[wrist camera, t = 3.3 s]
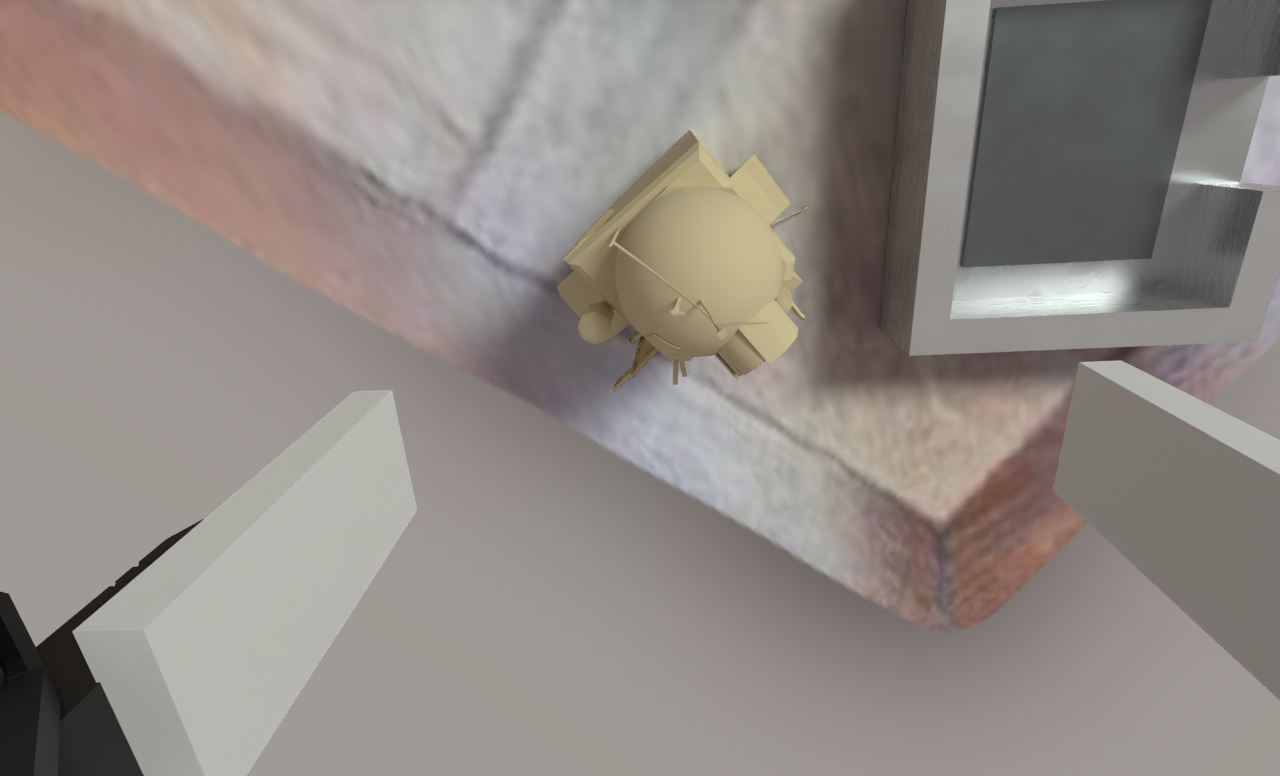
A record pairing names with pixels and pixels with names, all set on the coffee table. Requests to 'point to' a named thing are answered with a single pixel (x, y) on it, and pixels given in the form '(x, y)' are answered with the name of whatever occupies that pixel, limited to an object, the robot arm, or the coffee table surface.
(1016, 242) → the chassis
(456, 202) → the coffee table surface
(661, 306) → the robot
